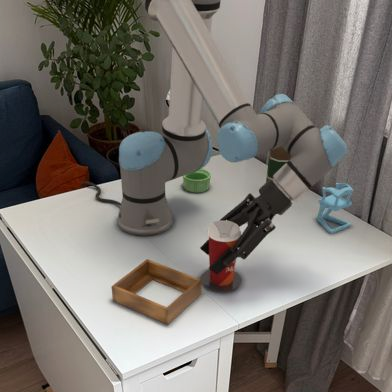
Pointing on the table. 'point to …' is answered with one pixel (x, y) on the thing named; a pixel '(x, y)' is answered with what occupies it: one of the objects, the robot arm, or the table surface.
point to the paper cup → (222, 248)
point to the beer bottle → (277, 161)
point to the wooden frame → (151, 271)
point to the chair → (334, 205)
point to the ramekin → (197, 181)
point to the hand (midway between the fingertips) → (208, 261)
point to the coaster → (216, 288)
